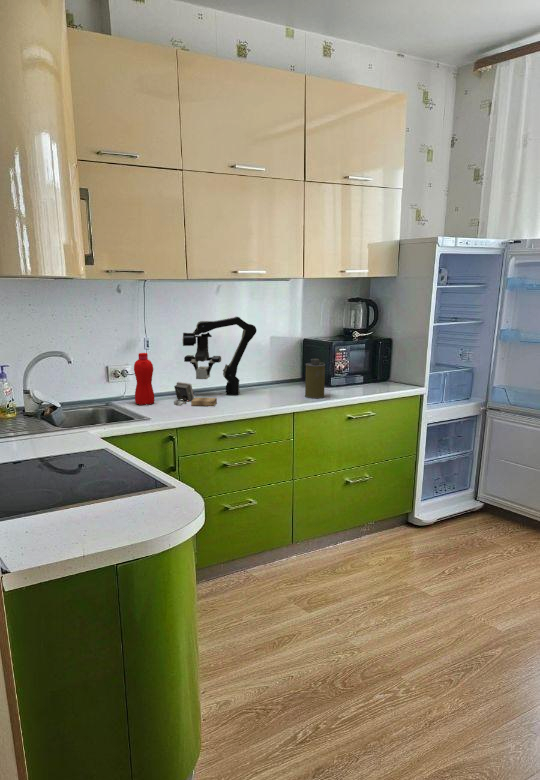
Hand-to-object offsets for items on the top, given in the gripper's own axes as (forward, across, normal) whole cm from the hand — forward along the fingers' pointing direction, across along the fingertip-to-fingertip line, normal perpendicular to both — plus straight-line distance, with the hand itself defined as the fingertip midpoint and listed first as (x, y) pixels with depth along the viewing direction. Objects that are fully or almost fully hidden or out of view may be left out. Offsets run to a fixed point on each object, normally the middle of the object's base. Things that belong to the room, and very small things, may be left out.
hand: (203, 375), depth 290 cm
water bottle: (+11, -25, -22) cm, 35 cm away
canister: (+11, +59, +4) cm, 60 cm away
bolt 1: (+11, -7, -25) cm, 28 cm away
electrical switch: (+11, -7, -13) cm, 19 cm away
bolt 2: (+11, -6, -22) cm, 25 cm away
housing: (+1, 0, 0) cm, 1 cm away
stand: (+11, +5, -22) cm, 25 cm away
